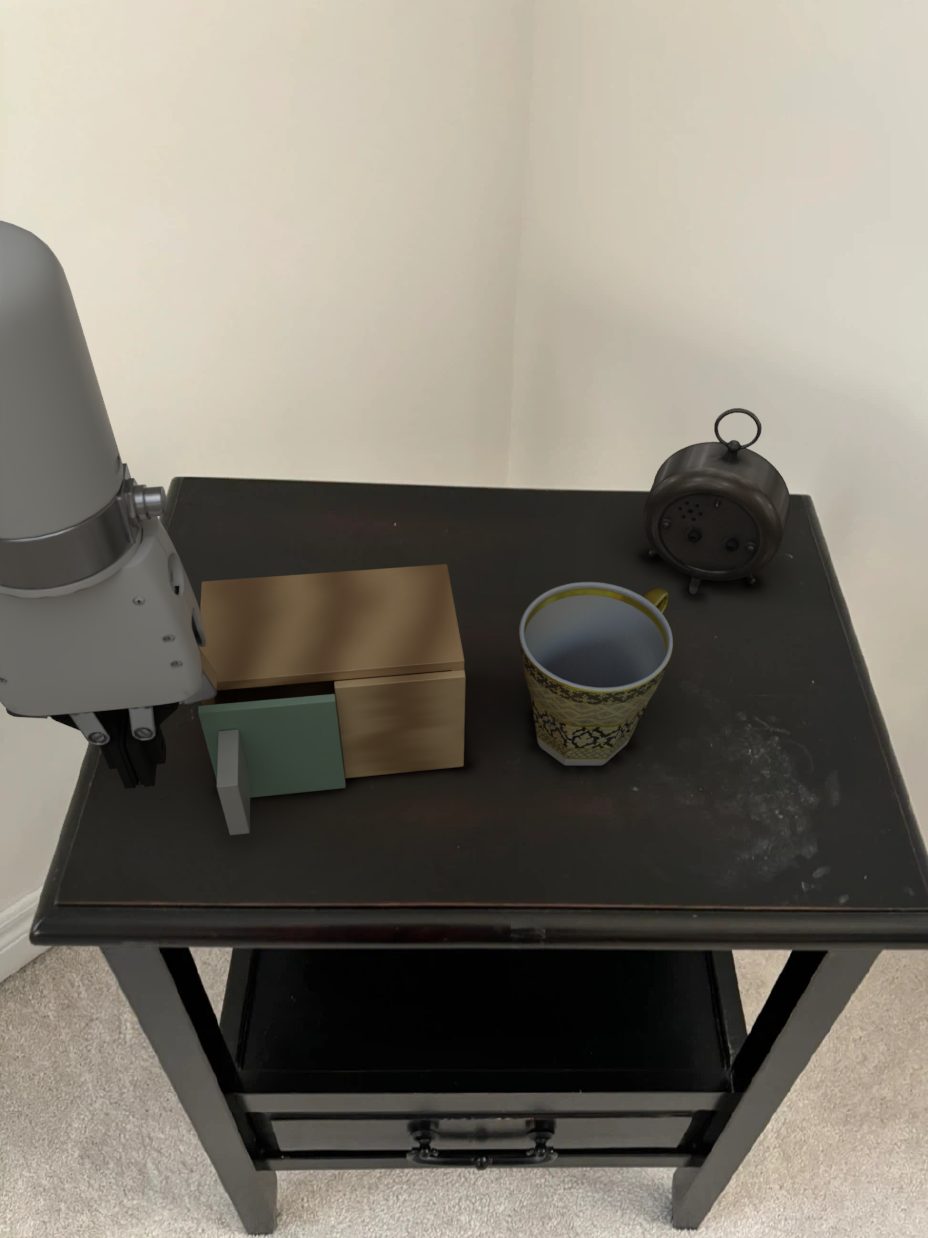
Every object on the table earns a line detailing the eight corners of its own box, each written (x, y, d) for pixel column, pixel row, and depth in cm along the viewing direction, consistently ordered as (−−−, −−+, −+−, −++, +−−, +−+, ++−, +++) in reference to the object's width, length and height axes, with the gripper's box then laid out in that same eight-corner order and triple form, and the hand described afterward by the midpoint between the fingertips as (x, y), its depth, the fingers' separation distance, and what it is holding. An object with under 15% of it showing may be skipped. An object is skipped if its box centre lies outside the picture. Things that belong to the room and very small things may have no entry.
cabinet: (224, 798, 68) (195, 691, 60) (227, 690, 75) (201, 581, 67) (463, 773, 71) (465, 667, 63) (446, 671, 77) (447, 563, 69)
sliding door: (220, 856, 64) (194, 770, 58) (222, 793, 67) (198, 705, 61) (349, 842, 65) (339, 756, 59) (345, 781, 69) (334, 693, 62)
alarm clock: (769, 575, 86) (822, 406, 74) (758, 617, 83) (812, 447, 71) (643, 542, 88) (674, 373, 76) (627, 582, 85) (657, 411, 73)
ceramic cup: (589, 813, 69) (606, 716, 62) (482, 731, 73) (486, 631, 66) (702, 709, 76) (730, 611, 68) (598, 640, 80) (614, 540, 73)
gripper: (220, 457, 49) (273, 706, 63) (-112, 478, 47) (16, 731, 61) (216, 560, 45) (274, 806, 58) (-155, 589, 42) (-5, 837, 56)
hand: (142, 767), depth 60 cm, fingers closed
